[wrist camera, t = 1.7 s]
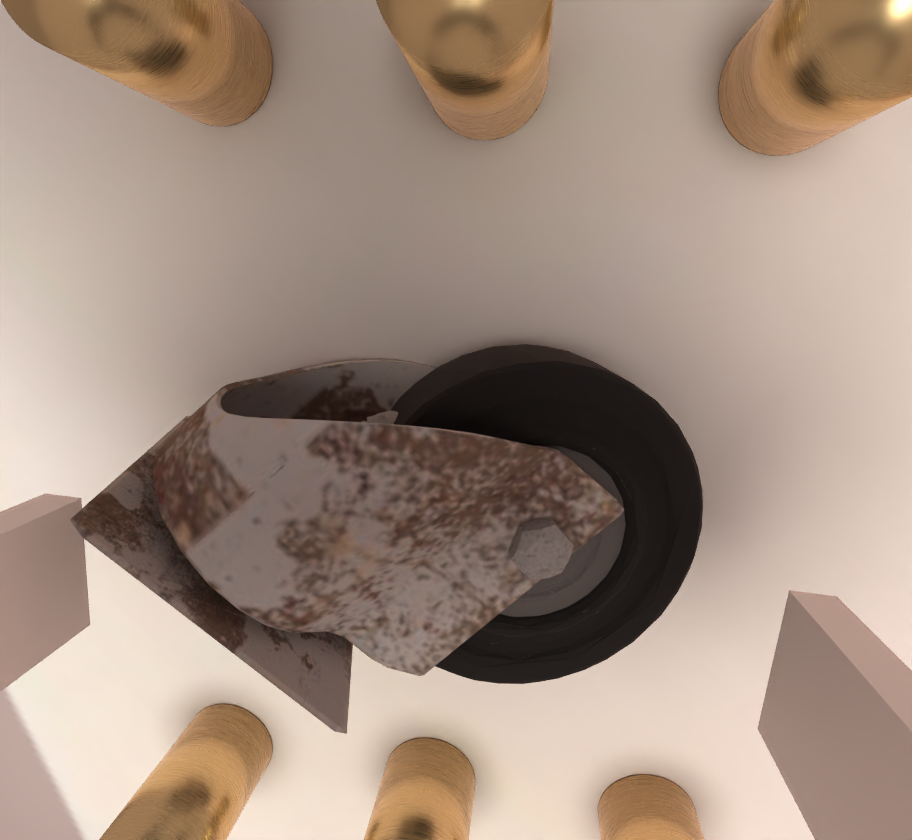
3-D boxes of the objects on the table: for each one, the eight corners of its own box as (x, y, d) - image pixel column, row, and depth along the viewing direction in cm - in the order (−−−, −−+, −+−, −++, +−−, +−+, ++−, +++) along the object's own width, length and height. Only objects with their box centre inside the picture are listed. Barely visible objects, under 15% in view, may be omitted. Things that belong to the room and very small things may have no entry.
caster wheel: (675, 471, 18) (440, 662, 19) (446, 178, 15) (175, 426, 16) (832, 590, 12) (469, 865, 13) (495, 129, 9) (40, 545, 10)
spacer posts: (160, -5, 15) (-23, -147, 10) (871, 13, 13) (1074, -149, 8) (191, 769, 20) (85, 921, 16) (686, 860, 19) (740, 1062, 14)
